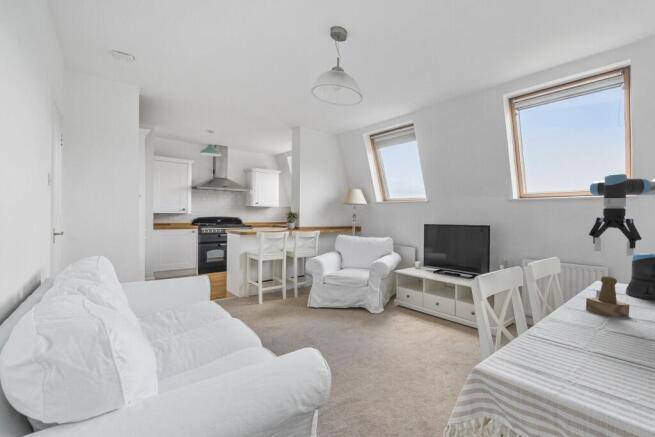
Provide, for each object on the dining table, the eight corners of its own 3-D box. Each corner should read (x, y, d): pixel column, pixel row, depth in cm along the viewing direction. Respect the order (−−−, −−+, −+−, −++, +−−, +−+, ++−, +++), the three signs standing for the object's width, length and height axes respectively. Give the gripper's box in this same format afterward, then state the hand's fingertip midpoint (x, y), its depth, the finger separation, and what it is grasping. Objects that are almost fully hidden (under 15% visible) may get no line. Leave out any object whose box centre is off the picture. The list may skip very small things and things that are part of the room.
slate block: (606, 302, 149) (607, 290, 149) (615, 305, 144) (616, 293, 144) (595, 301, 150) (596, 289, 150) (603, 304, 145) (604, 292, 145)
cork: (609, 299, 137) (610, 275, 136) (620, 303, 131) (622, 278, 130) (594, 298, 137) (596, 274, 137) (605, 303, 131) (607, 278, 131)
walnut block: (604, 308, 140) (605, 297, 140) (628, 316, 130) (629, 304, 130) (585, 308, 138) (586, 298, 138) (609, 316, 129) (609, 305, 128)
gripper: (580, 207, 151) (579, 249, 152) (640, 208, 127) (638, 258, 128) (592, 207, 153) (591, 248, 154) (654, 207, 128) (652, 257, 129)
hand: (612, 253), depth 141 cm, fingers open, 13 cm apart
